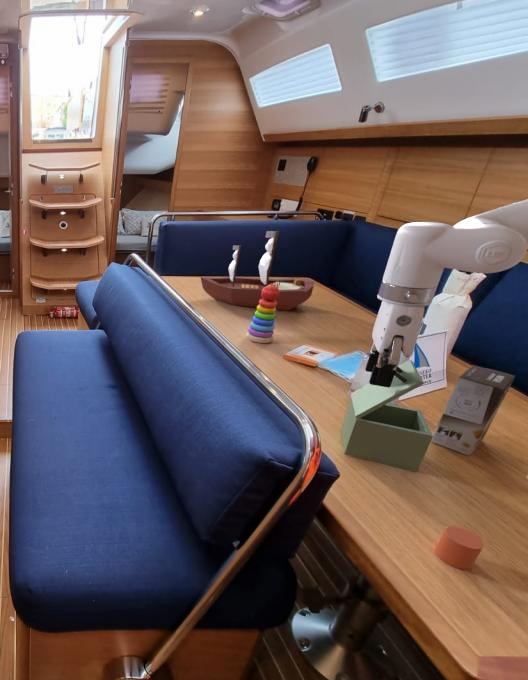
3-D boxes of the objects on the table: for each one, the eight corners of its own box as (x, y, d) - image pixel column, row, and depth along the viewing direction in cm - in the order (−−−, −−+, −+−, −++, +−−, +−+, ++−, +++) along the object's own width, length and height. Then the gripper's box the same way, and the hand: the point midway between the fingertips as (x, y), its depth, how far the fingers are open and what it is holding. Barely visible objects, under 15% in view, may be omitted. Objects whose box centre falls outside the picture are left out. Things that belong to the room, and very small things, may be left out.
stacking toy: (258, 345, 135) (270, 290, 128) (240, 336, 142) (250, 283, 135) (278, 341, 137) (291, 287, 129) (259, 332, 144) (270, 280, 136)
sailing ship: (309, 316, 155) (330, 236, 143) (195, 304, 173) (205, 232, 161) (305, 301, 169) (323, 228, 157) (199, 291, 187) (209, 225, 175)
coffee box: (470, 457, 85) (504, 390, 78) (429, 441, 90) (458, 377, 83) (483, 440, 89) (516, 375, 83) (443, 426, 94) (472, 363, 88)
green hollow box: (407, 444, 89) (421, 410, 86) (416, 472, 82) (433, 436, 78) (340, 429, 95) (351, 396, 91) (344, 454, 88) (356, 419, 84)
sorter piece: (467, 552, 66) (478, 532, 64) (475, 574, 63) (488, 553, 61) (431, 541, 68) (441, 521, 66) (438, 562, 65) (449, 541, 63)
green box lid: (413, 361, 83) (390, 344, 84) (424, 383, 76) (399, 364, 77) (353, 396, 91) (333, 380, 92) (358, 419, 84) (336, 401, 85)
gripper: (446, 310, 68) (410, 404, 75) (422, 281, 81) (393, 364, 88) (387, 304, 71) (358, 394, 79) (373, 278, 85) (349, 357, 92)
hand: (377, 377), depth 83 cm, fingers closed on green box lid, 5 cm apart
